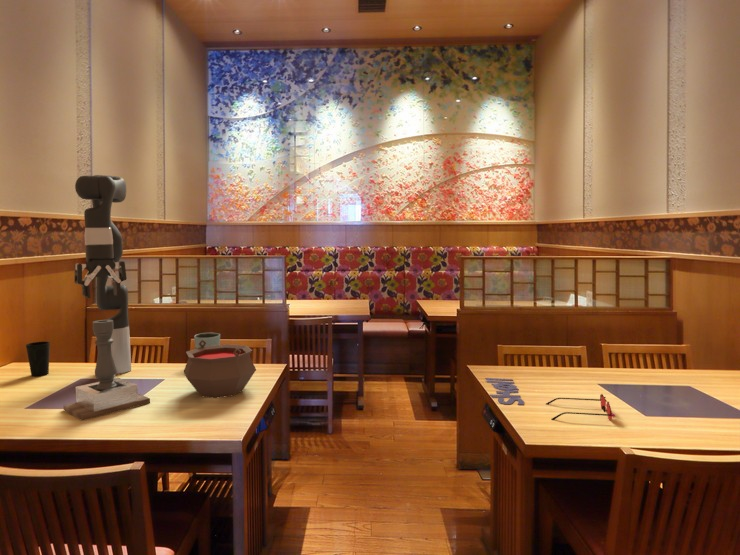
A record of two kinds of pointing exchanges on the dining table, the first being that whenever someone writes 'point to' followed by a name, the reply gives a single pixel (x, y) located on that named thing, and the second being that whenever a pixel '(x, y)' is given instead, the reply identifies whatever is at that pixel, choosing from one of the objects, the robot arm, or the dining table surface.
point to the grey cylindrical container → (207, 339)
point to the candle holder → (104, 354)
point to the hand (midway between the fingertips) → (102, 296)
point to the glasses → (603, 406)
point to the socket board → (86, 413)
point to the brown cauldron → (219, 369)
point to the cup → (38, 358)
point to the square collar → (106, 395)
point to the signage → (505, 391)
